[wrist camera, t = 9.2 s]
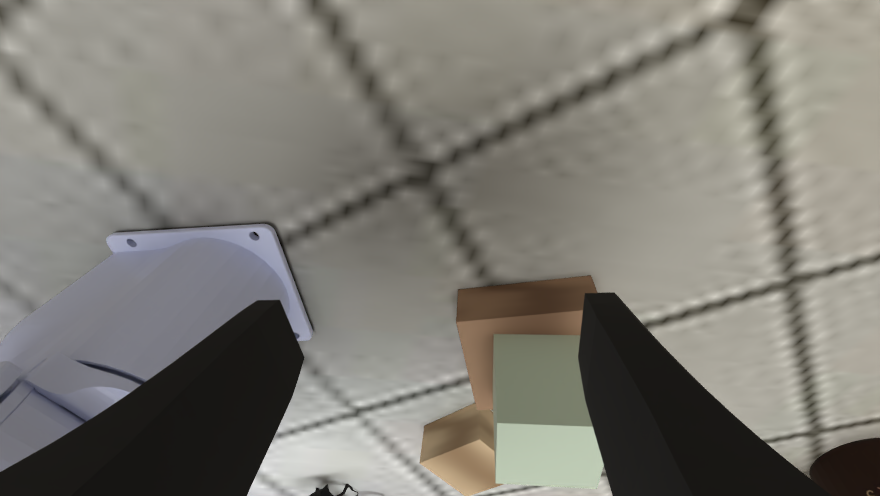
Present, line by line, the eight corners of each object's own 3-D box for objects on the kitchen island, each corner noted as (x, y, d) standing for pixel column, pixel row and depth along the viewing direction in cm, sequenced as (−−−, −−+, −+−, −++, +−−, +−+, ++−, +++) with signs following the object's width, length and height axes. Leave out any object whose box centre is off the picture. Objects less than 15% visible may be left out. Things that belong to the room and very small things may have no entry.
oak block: (467, 455, 31) (466, 496, 29) (424, 422, 30) (419, 463, 27) (521, 435, 29) (525, 477, 27) (479, 398, 28) (479, 439, 25)
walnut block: (477, 369, 26) (477, 410, 24) (458, 284, 23) (456, 322, 20) (589, 361, 25) (601, 403, 23) (588, 270, 21) (603, 308, 19)
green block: (492, 392, 23) (495, 483, 19) (493, 333, 20) (497, 423, 16) (575, 395, 22) (596, 489, 18) (585, 335, 20) (614, 427, 16)
